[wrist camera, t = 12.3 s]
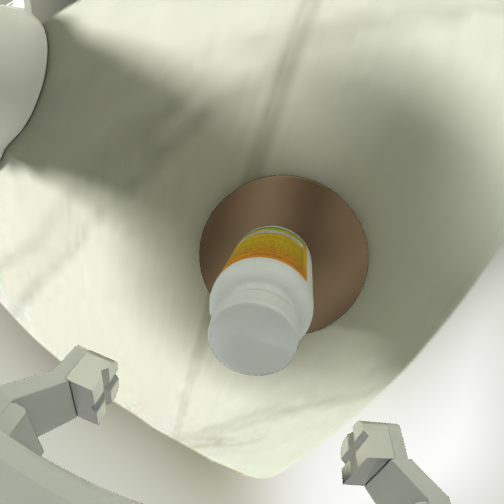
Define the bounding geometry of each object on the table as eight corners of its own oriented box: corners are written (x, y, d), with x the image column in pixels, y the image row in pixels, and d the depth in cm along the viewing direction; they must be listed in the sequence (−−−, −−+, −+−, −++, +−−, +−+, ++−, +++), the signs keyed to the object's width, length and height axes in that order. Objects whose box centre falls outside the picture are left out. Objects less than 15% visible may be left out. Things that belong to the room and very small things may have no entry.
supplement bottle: (222, 239, 23) (170, 305, 14) (296, 212, 21) (289, 268, 12) (251, 304, 24) (221, 395, 15) (321, 283, 23) (328, 373, 14)
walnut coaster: (192, 306, 26) (189, 311, 25) (220, 157, 22) (216, 158, 21) (334, 343, 25) (335, 351, 24) (387, 202, 21) (391, 205, 20)
